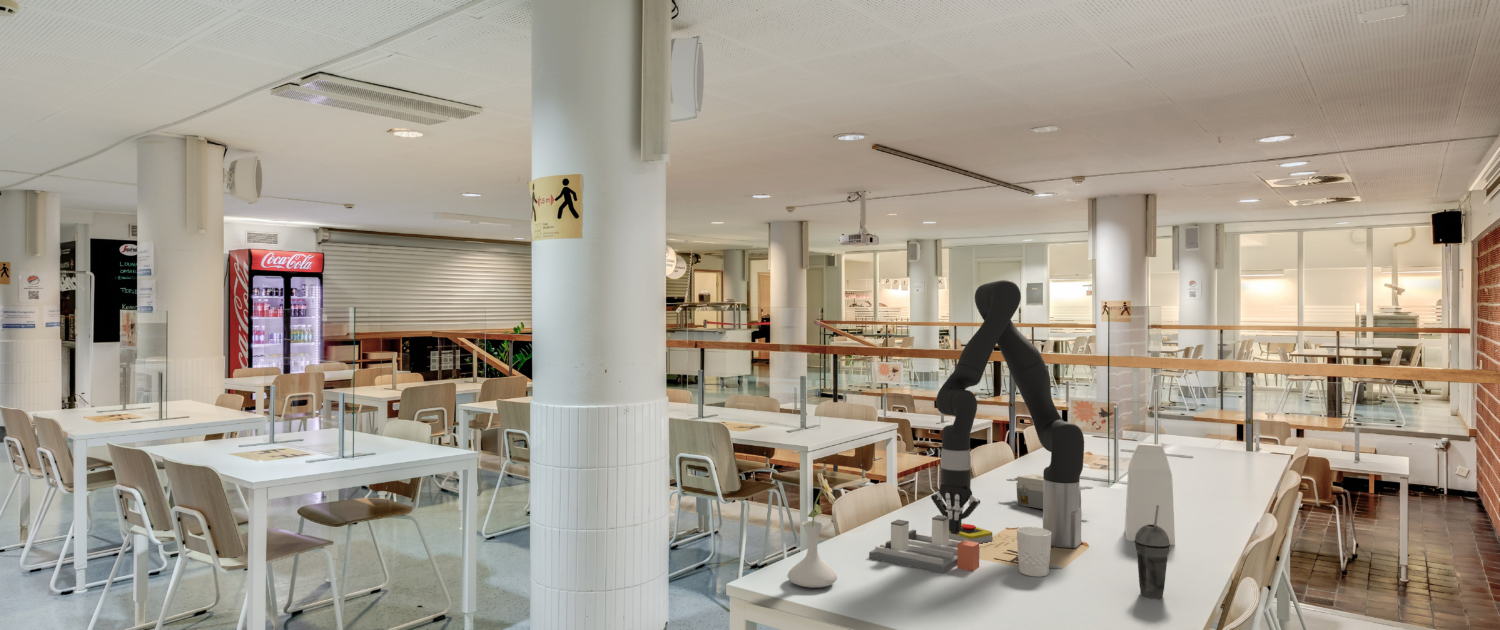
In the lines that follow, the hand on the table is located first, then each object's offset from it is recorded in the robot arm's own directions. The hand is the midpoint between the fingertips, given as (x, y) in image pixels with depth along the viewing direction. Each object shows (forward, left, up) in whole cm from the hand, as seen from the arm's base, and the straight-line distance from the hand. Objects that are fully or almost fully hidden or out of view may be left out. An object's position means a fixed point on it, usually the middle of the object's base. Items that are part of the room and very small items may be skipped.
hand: (954, 533), depth 213 cm
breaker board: (+6, +5, -6) cm, 10 cm away
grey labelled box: (-4, -68, -6) cm, 68 cm away
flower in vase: (+17, +41, -6) cm, 45 cm away
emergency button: (+4, -17, -6) cm, 18 cm away
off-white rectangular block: (+4, 0, -4) cm, 6 cm away
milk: (-37, -50, -6) cm, 62 cm away
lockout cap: (-7, +8, -6) cm, 12 cm away
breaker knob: (+10, +11, -4) cm, 15 cm away
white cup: (-21, +2, -6) cm, 22 cm away
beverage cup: (-47, +2, -6) cm, 47 cm away
